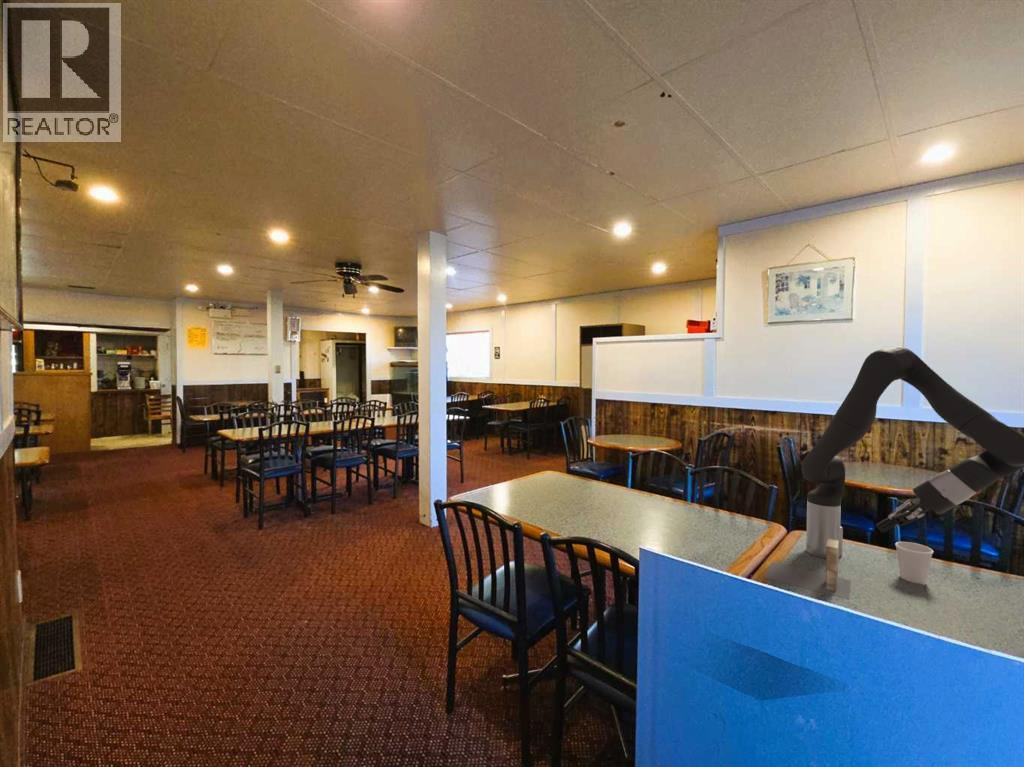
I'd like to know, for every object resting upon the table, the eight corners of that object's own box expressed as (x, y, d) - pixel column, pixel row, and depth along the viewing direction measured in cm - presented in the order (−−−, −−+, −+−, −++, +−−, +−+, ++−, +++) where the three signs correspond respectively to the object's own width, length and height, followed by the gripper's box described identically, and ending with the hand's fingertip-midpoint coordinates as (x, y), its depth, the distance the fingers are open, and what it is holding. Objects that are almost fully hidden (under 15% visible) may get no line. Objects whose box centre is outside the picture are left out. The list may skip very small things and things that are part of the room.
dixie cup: (940, 588, 125) (941, 553, 125) (906, 585, 127) (907, 551, 126) (919, 575, 133) (920, 542, 133) (887, 572, 135) (888, 540, 134)
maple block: (837, 581, 128) (838, 540, 127) (836, 591, 122) (837, 548, 122) (827, 579, 129) (828, 538, 129) (825, 588, 124) (826, 545, 124)
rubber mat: (850, 582, 129) (850, 580, 129) (848, 601, 118) (848, 599, 118) (772, 563, 141) (772, 561, 141) (763, 578, 130) (763, 577, 130)
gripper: (926, 474, 118) (866, 511, 126) (932, 484, 107) (866, 523, 115) (954, 498, 114) (890, 534, 122) (962, 510, 104) (892, 548, 112)
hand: (879, 529), depth 119 cm, fingers closed
